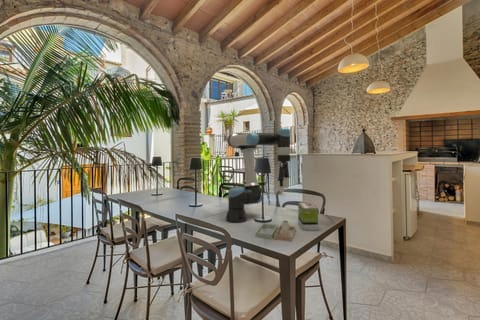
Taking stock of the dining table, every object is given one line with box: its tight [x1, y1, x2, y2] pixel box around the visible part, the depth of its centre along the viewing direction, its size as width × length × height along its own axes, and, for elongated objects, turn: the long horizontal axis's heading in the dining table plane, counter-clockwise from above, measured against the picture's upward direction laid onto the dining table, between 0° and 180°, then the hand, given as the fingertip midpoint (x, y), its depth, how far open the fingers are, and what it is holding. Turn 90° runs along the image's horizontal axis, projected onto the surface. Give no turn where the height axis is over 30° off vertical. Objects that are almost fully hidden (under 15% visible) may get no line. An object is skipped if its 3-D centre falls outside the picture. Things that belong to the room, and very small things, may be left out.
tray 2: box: [273, 224, 297, 242], centre depth 149 cm, size 10×18×2 cm, turn 160°
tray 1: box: [254, 222, 279, 240], centre depth 153 cm, size 10×18×2 cm, turn 160°
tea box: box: [297, 201, 319, 231], centre depth 163 cm, size 15×10×15 cm
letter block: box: [281, 220, 290, 236], centre depth 149 cm, size 4×4×8 cm
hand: (284, 190), depth 147 cm, fingers open, 13 cm apart
